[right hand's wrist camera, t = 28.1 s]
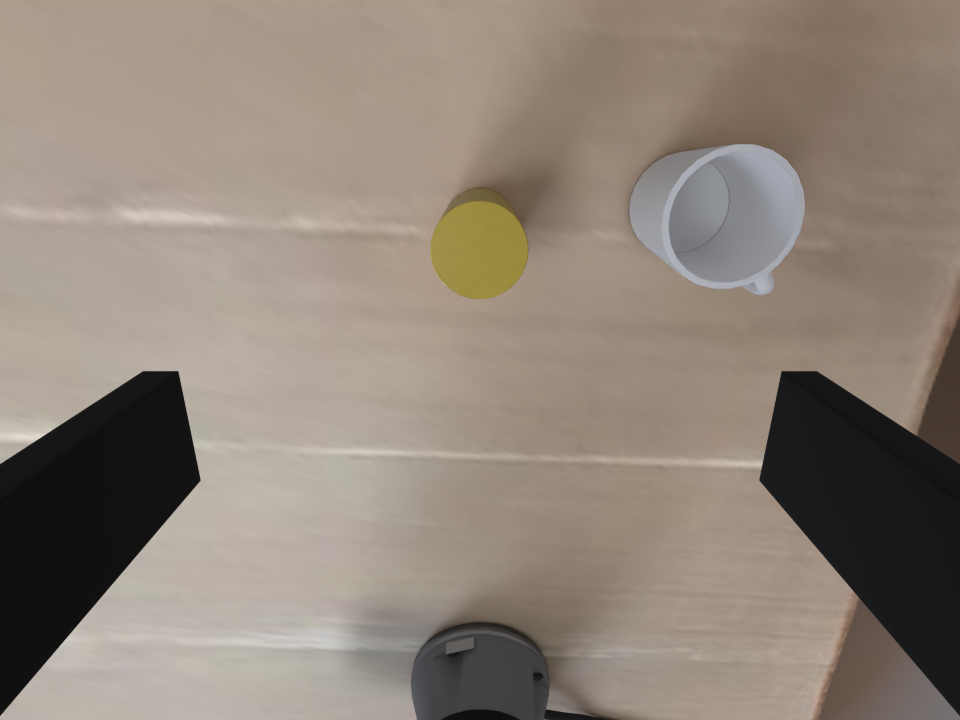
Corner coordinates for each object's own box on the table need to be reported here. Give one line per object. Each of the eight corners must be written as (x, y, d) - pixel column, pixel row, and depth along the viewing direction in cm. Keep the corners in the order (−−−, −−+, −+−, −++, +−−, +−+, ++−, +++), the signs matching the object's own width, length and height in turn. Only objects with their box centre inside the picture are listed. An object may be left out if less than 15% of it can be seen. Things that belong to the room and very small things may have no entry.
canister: (523, 197, 45) (538, 212, 33) (507, 269, 47) (515, 307, 35) (450, 180, 44) (440, 190, 33) (436, 254, 46) (422, 288, 35)
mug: (600, 194, 44) (634, 206, 35) (699, 120, 42) (763, 111, 33) (671, 300, 47) (720, 338, 38) (765, 236, 45) (843, 259, 36)
